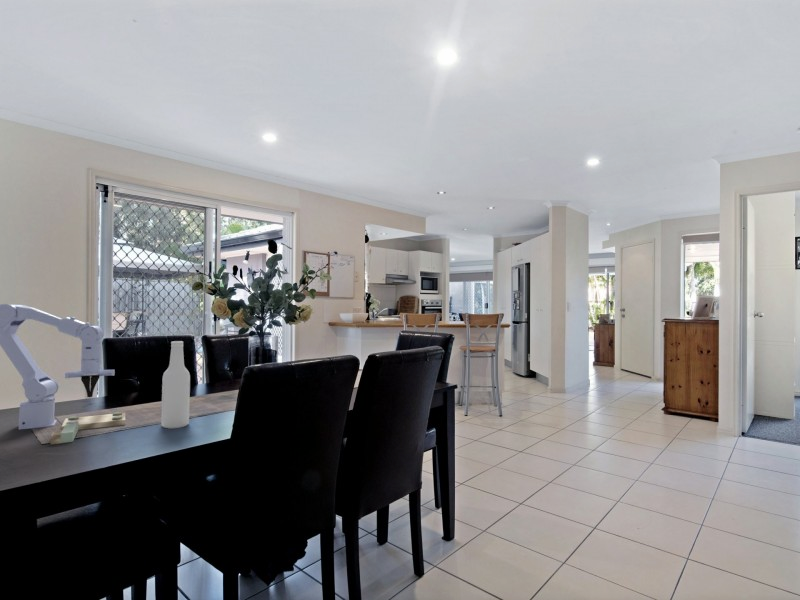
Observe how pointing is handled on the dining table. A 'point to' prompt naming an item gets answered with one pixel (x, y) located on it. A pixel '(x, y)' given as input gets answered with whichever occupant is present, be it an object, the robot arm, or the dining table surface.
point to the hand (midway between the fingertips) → (89, 396)
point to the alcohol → (175, 390)
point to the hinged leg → (69, 431)
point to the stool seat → (91, 423)
